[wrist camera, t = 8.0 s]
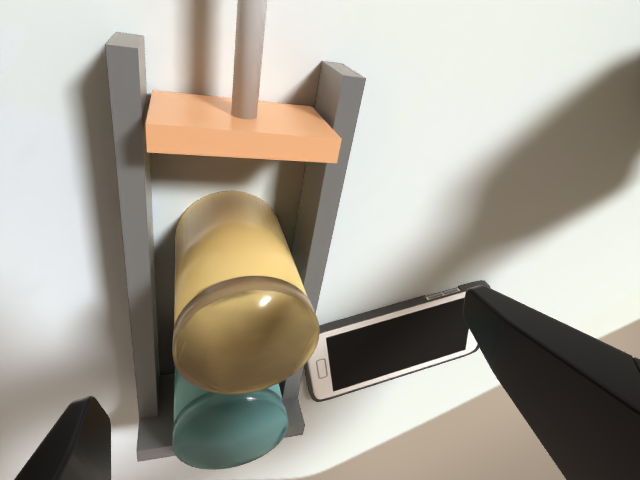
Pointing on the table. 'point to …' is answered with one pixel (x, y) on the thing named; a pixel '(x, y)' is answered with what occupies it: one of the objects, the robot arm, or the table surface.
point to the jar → (225, 425)
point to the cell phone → (389, 343)
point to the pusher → (240, 112)
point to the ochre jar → (238, 298)
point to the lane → (137, 226)
